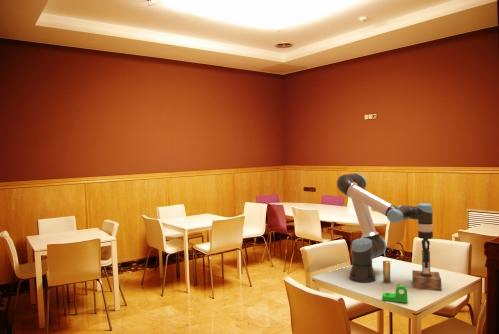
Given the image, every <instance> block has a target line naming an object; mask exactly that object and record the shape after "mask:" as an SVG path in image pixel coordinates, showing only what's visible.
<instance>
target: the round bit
mask: <svg viewBox="0 0 499 334" xmlns="http://www.w3.org/2000/svg"><path fill="white" fill-rule="evenodd" d="M382 274H383V276H382V278H383V279H382V281H383V283H385V284H390V283H391V278H392V277H391V261H390V260H383V261H382Z"/></svg>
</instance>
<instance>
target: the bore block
mask: <svg viewBox="0 0 499 334" xmlns="http://www.w3.org/2000/svg"><path fill="white" fill-rule="evenodd" d="M411 272H412V273H411V274H412V275H411V276H412V288H413V289H416V290H417V289H419V290H427V291H428V290H430V291H439V292H441V291H442V277H441V275H440V272H439V271H430V277H429V276H422V270H416V269H415V270H412V271H411Z"/></svg>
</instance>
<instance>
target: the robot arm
mask: <svg viewBox="0 0 499 334" xmlns="http://www.w3.org/2000/svg"><path fill="white" fill-rule="evenodd" d="M366 187H367V180H366V178H365V177H364V175H362V174H360V173H356V172H355V173H345V174H342V175H340V176H339V177H338V178H337V180H336V188H337V189H338V191H339V192H340V193H342V194H343V195H345V196H347V197H348V198H350V199H351V202H352V205H353V208H354V211H355V214H356V217H357V221H358V224H359V228H360V231H361V237H360V238H356V239H353V240H352V243H351V268H350V272H349V279H350V280H351V281H353V282H357V283H372V282H374V281H376V277H377V275H376V273H375V270H374V267H373V259H375V258H377V257H380V256H381V255H383V254H384V253H385V252H386V250H387V242H386V241H385V239H384V238H383V237H381V235H380V232H378V231H377V230H376V227H375V224H374V221H373V218H372V215H371V211H370V208H371V209H373V210H374V211H376V212H377V213H380V214H381V215H383V216H385V217H386V218H387V219H388V221H389V222H391V223H400V222H402V221H407V220H415V221H416V220H417V230H418V231H417V236H418V238H419V239H422V240H421V248H422V250H424V261H422V260H421V263H422V262H424V273H427V274H429V251H430V244H431V243H430V240H431V239H433V237H434V234H433V233H434V231H433V230H434V229H433V228H434V227H435V225H434V224H433V218H434V217H433V213H434V212H433V205H432V203H425V202H423V203H422V202H421V203H418V204H417V206H413V205H404V204H403V205H397V206H396V205H393V204H392V203H390V202H388V201H387V200H385V199H383V198H381V197H379V196H377V195H376V194H373V193H372V192H370V191H368V190H367V189H366Z"/></svg>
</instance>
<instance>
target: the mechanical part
mask: <svg viewBox="0 0 499 334" xmlns="http://www.w3.org/2000/svg"><path fill="white" fill-rule="evenodd" d="M406 287H407V286H405V285H403V284H401V285H397V286H396V288H395V293H394V292H393V293H392V292H383V293H382V296H381V297H382V298H381V299H382V301H386V302H387V301H388V302H396V303H397V302H398V303H405V304H408V289H407V288H406ZM400 290H402V291H403V293H401V292H400Z"/></svg>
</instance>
